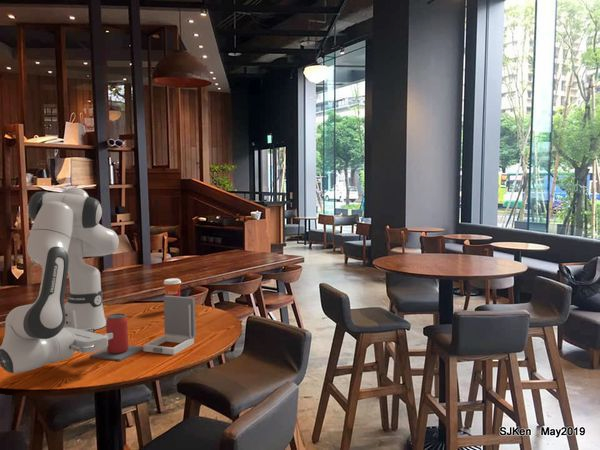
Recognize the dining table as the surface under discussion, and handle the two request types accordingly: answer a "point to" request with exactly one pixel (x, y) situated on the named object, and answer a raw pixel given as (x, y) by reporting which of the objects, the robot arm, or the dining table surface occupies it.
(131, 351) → the rubber mat
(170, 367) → the dining table surface
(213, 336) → the dining table surface
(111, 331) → the beer can
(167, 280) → the paper cup
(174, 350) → the case
